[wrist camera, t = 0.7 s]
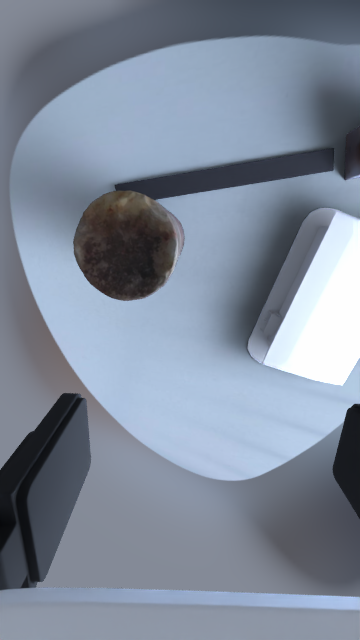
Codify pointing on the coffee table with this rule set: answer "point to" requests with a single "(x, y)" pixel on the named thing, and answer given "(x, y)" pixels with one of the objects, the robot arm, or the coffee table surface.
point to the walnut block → (352, 154)
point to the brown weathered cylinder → (127, 245)
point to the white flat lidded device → (315, 302)
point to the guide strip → (233, 175)
